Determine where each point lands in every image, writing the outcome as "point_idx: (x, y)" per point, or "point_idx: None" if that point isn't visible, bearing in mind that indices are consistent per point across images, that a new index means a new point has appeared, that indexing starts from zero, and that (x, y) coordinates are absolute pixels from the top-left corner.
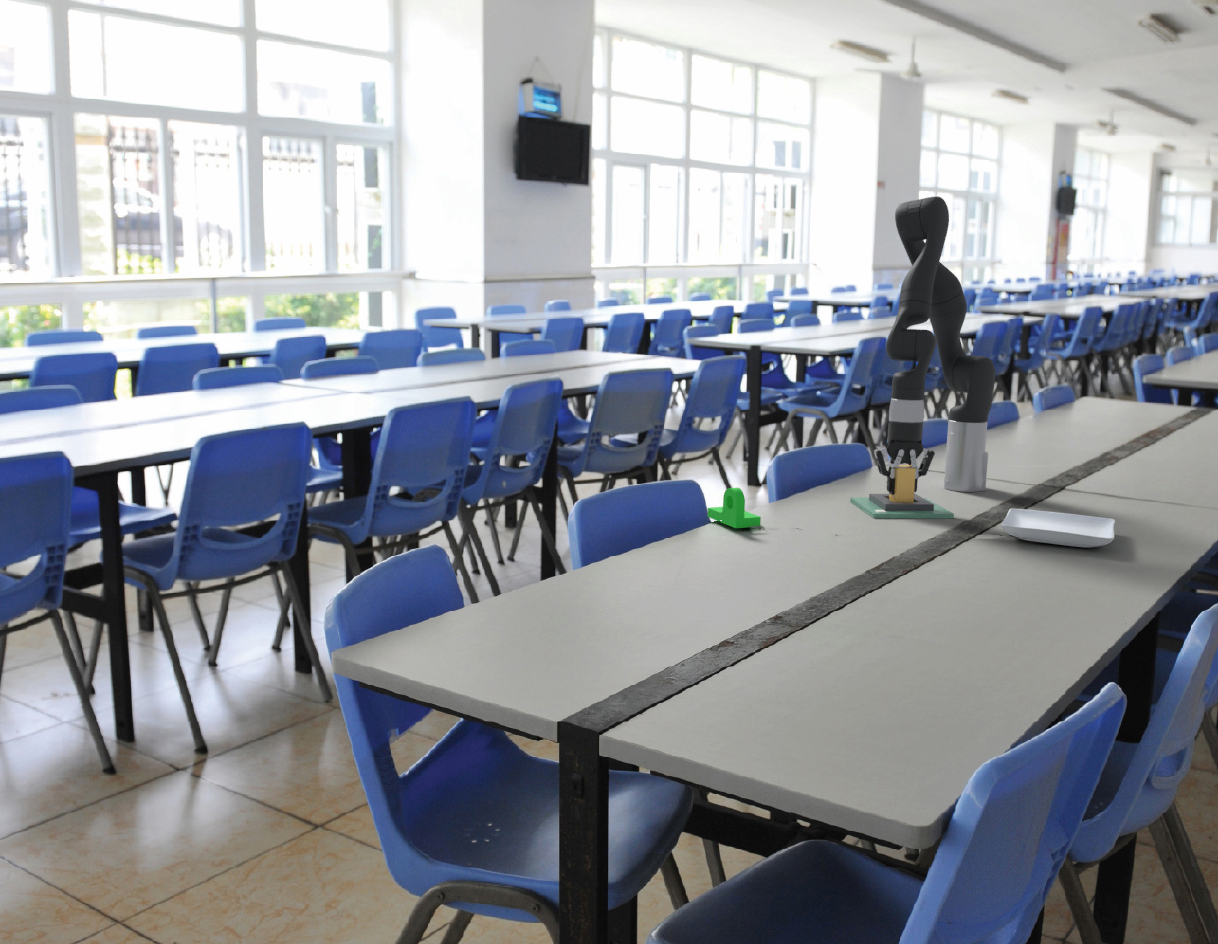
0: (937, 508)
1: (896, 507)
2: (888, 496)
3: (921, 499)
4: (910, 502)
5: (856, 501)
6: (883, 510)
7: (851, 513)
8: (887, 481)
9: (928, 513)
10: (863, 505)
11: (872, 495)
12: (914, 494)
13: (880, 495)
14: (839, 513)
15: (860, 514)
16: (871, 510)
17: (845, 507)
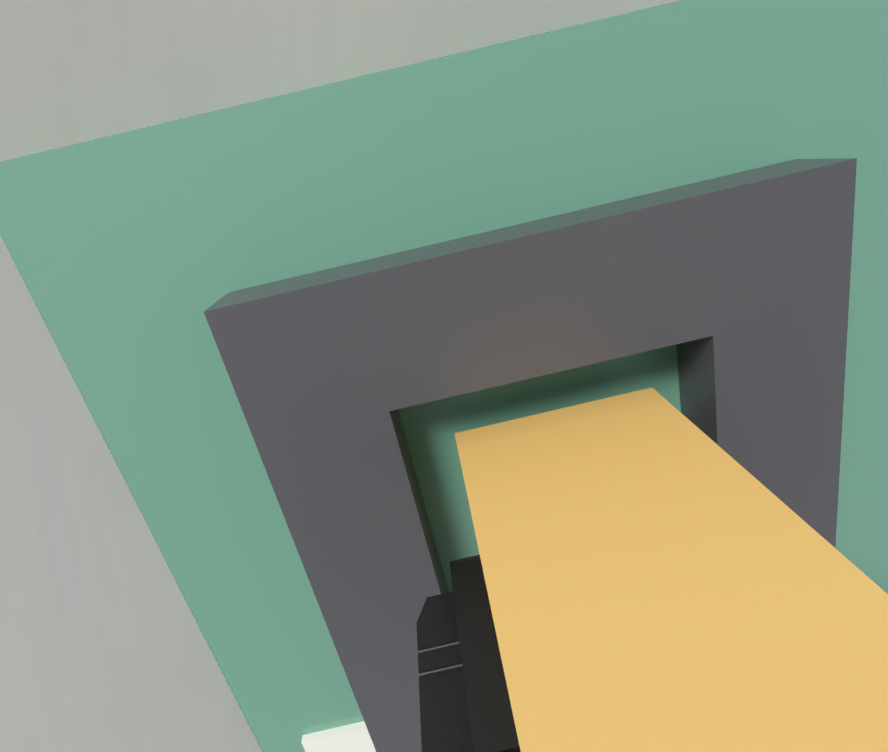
0: (863, 531)
1: None
2: (455, 395)
3: (795, 501)
4: None
5: (93, 408)
6: (372, 748)
7: (123, 691)
8: (425, 738)
9: None
10: (192, 582)
11: (253, 418)
12: (825, 208)
13: (356, 391)
14: (27, 714)
15: (199, 703)
16: (276, 736)
17: (23, 488)
